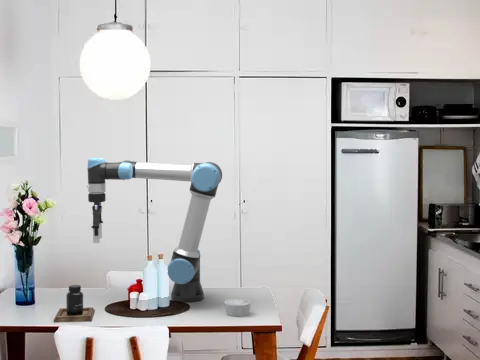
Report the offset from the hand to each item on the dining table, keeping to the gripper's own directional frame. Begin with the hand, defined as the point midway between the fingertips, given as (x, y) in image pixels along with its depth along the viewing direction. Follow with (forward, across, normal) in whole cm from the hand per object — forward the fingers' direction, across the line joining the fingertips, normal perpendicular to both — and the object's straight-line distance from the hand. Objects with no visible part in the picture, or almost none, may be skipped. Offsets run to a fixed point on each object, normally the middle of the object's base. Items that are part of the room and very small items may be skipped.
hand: (97, 240), depth 321 cm
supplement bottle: (+28, +21, -8) cm, 36 cm away
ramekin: (+29, +24, +60) cm, 71 cm away
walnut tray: (+28, +21, -8) cm, 37 cm away
